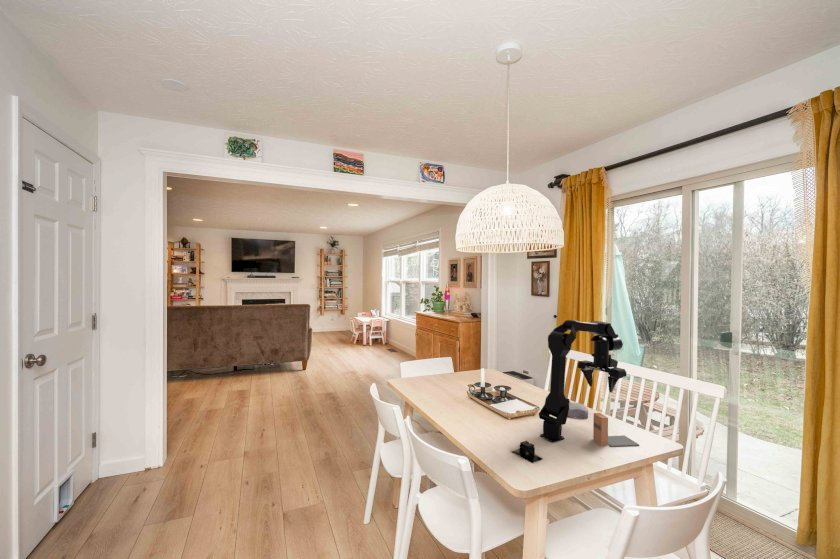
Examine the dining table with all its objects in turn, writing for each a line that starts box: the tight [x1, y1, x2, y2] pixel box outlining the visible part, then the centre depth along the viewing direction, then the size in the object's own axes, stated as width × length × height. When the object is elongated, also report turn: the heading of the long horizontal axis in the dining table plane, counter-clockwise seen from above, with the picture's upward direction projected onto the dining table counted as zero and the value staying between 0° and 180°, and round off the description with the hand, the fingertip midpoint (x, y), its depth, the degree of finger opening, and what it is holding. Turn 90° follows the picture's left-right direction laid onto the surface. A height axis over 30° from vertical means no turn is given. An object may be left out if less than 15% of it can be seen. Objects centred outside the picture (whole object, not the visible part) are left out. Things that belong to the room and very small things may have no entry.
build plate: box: [510, 440, 544, 464], centre depth 127 cm, size 12×7×5 cm, turn 33°
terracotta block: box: [592, 412, 609, 446], centre depth 138 cm, size 3×5×10 cm, turn 7°
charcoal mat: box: [607, 434, 640, 448], centre depth 139 cm, size 11×8×1 cm
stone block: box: [567, 402, 589, 419], centre depth 168 cm, size 12×5×10 cm
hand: (600, 389), depth 155 cm, fingers open, 9 cm apart
